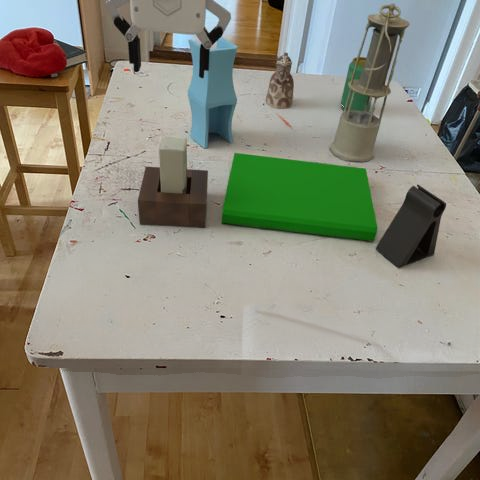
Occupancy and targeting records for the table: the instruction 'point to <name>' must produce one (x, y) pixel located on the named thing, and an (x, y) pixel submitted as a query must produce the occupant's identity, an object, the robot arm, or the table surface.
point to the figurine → (281, 84)
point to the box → (173, 165)
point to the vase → (213, 93)
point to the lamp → (370, 87)
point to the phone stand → (413, 228)
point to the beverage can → (358, 99)
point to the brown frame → (173, 201)
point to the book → (299, 197)
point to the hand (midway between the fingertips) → (169, 72)
